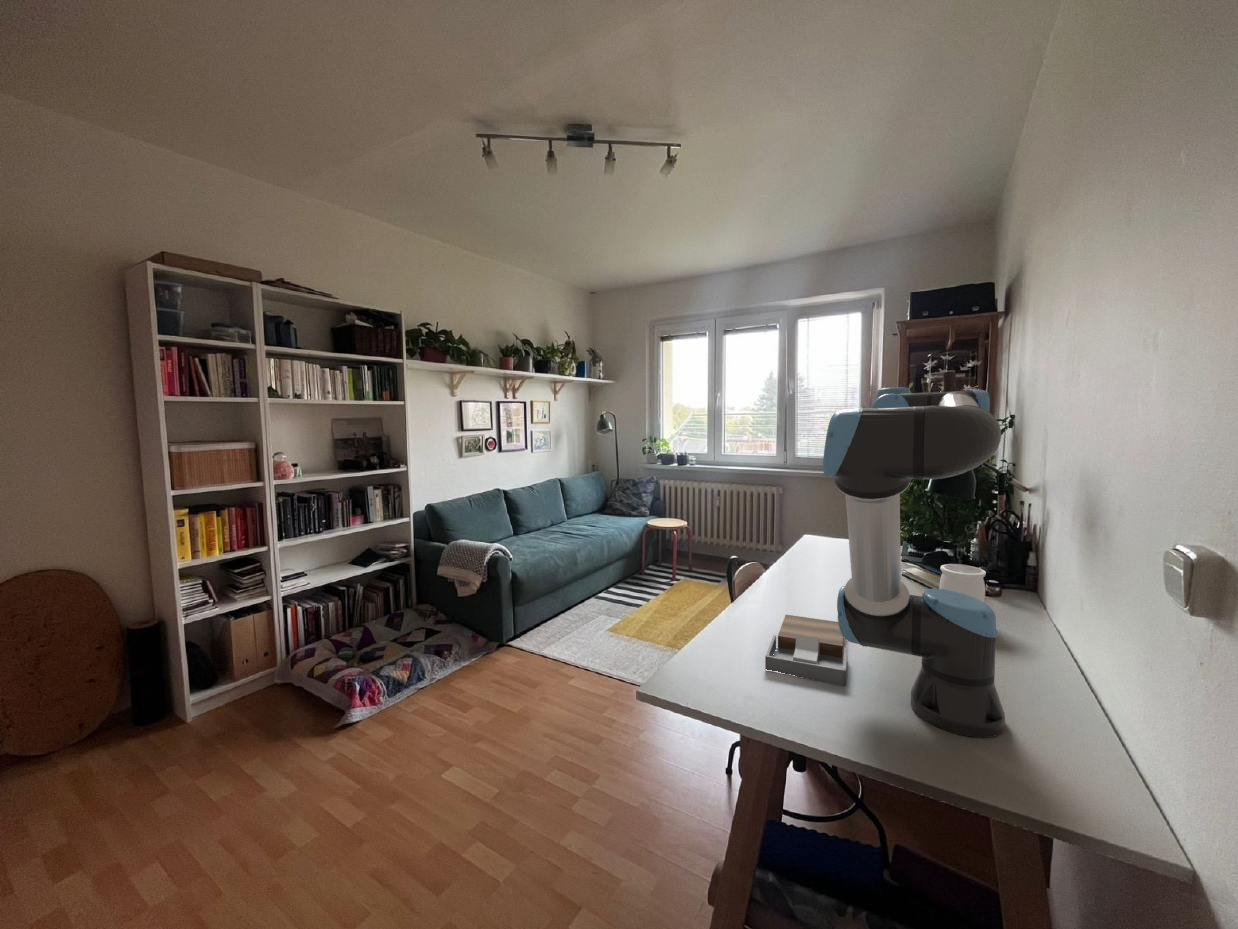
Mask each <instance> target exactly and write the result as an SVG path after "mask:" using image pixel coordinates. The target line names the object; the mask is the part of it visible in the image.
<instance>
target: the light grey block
mask: <svg viewBox="0 0 1238 929" xmlns="http://www.w3.org/2000/svg"><path fill="white" fill-rule="evenodd" d="M793 660H796V661H801V662H807V663H812V664H818V652H817V651H811V650H805V649H799V648H795V652H794V655H793Z"/></svg>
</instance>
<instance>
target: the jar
mask: <svg viewBox="0 0 1238 929" xmlns="http://www.w3.org/2000/svg"><path fill="white" fill-rule="evenodd" d="M939 569H940V571H941V572H942V574H940V579H939V580H940V581H939V589H945V590H951V591H955V592H959V593H962V594H966V595H968V596H971V597H974V598H976V599H978V600H980V601H982V602H984V603H985V598H986V585H985V579H984V577H986V573H987V572H986V571H985V570H984V569H982V568H979V567H975V566H971V565H967V564H959V563H948V564H942V565H940V568H939Z"/></svg>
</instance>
